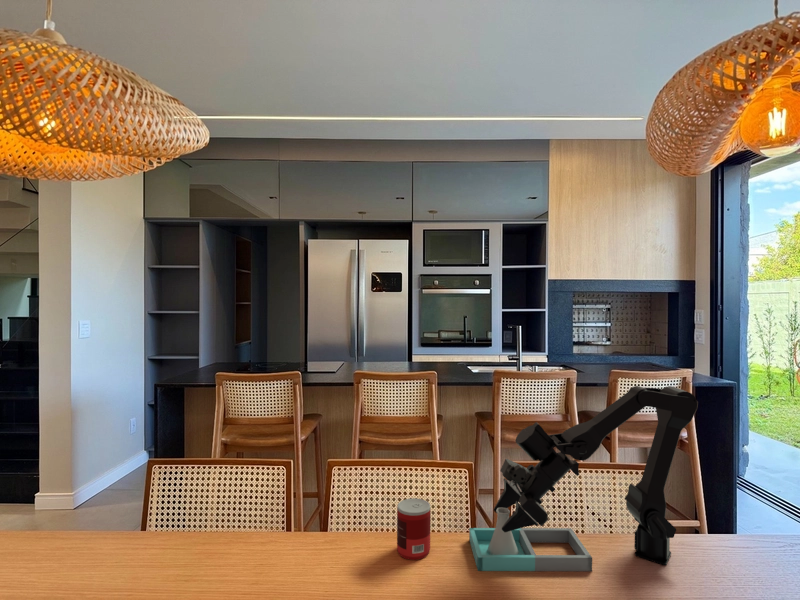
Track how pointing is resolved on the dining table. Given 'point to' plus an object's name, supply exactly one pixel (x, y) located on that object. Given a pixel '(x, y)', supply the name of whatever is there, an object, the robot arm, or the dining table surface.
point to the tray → (530, 551)
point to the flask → (502, 536)
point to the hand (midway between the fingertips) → (498, 520)
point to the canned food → (413, 528)
